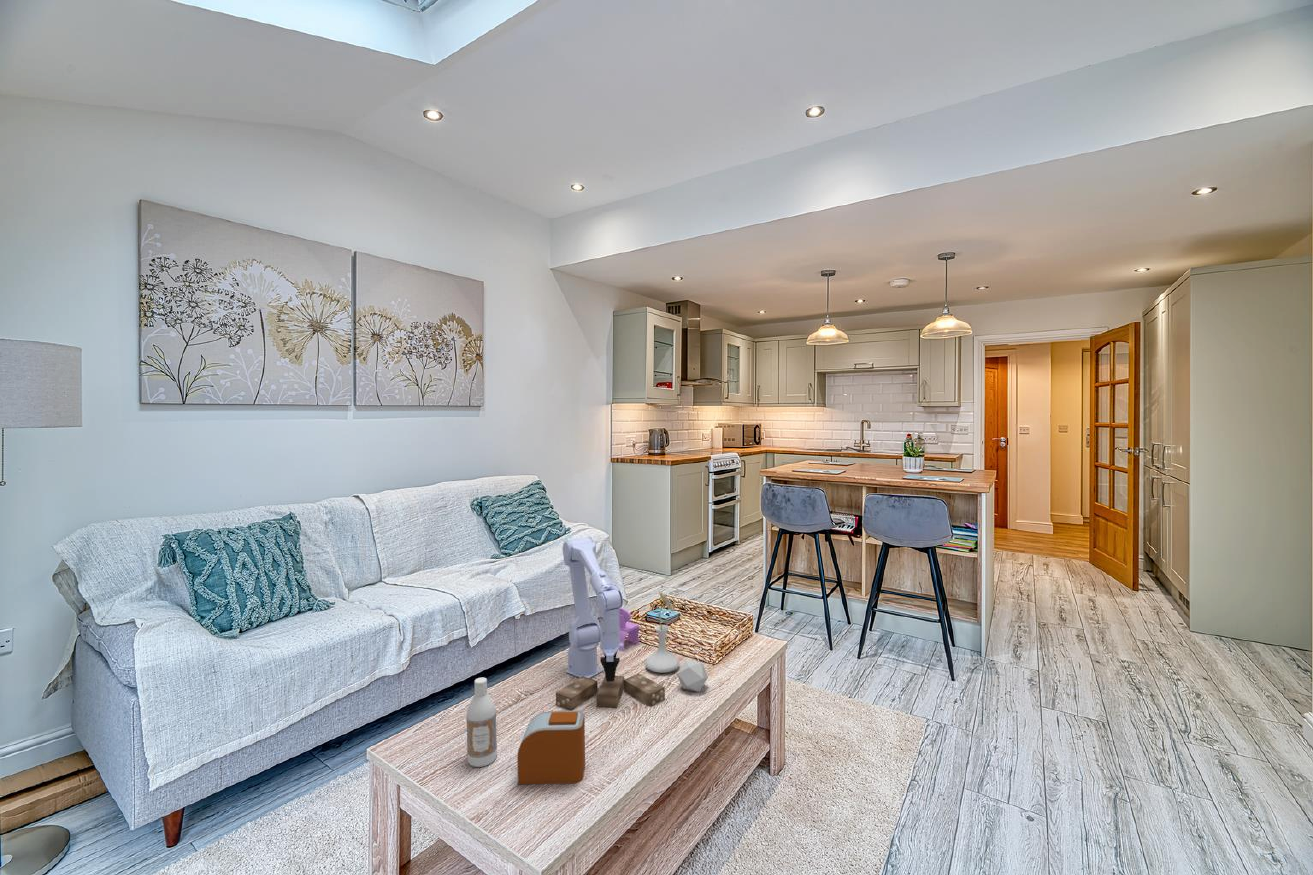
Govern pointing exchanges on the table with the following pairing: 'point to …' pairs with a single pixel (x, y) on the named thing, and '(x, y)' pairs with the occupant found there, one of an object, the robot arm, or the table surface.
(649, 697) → the pip block five
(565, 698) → the pip block three
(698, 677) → the die
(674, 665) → the flower in vase
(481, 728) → the bath foam
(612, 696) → the plain block
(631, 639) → the toy chair
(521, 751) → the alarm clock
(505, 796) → the table surface
